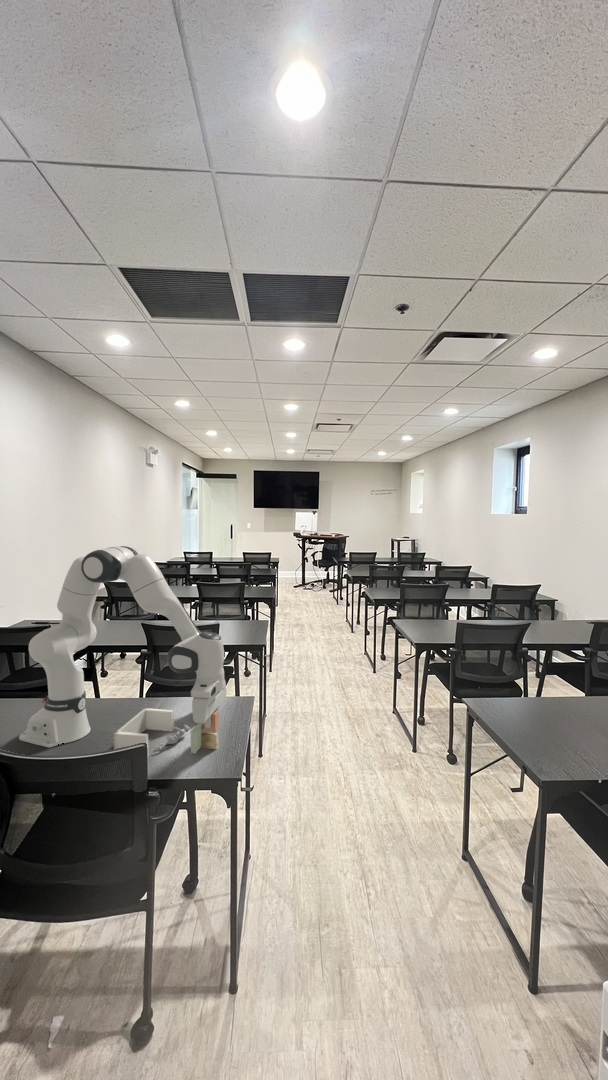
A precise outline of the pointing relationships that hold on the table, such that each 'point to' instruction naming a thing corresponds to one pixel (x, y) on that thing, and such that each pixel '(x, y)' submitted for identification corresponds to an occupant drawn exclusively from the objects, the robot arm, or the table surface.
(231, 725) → the table surface
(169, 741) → the soldier figure
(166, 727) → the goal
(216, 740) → the tan wooden block
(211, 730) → the t-shaped crossbar
